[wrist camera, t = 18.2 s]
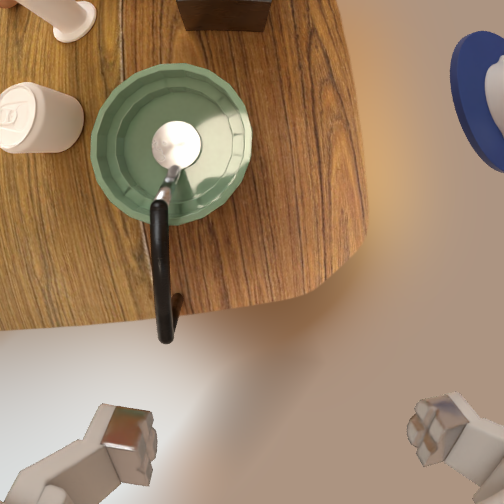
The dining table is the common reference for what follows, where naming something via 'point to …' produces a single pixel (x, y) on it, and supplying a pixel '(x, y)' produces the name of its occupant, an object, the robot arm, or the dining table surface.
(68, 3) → the candle
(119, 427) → the robot arm
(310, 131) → the dining table surface
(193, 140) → the black and silver ladle
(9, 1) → the egg
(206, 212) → the bowl
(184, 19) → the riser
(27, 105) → the beverage can
